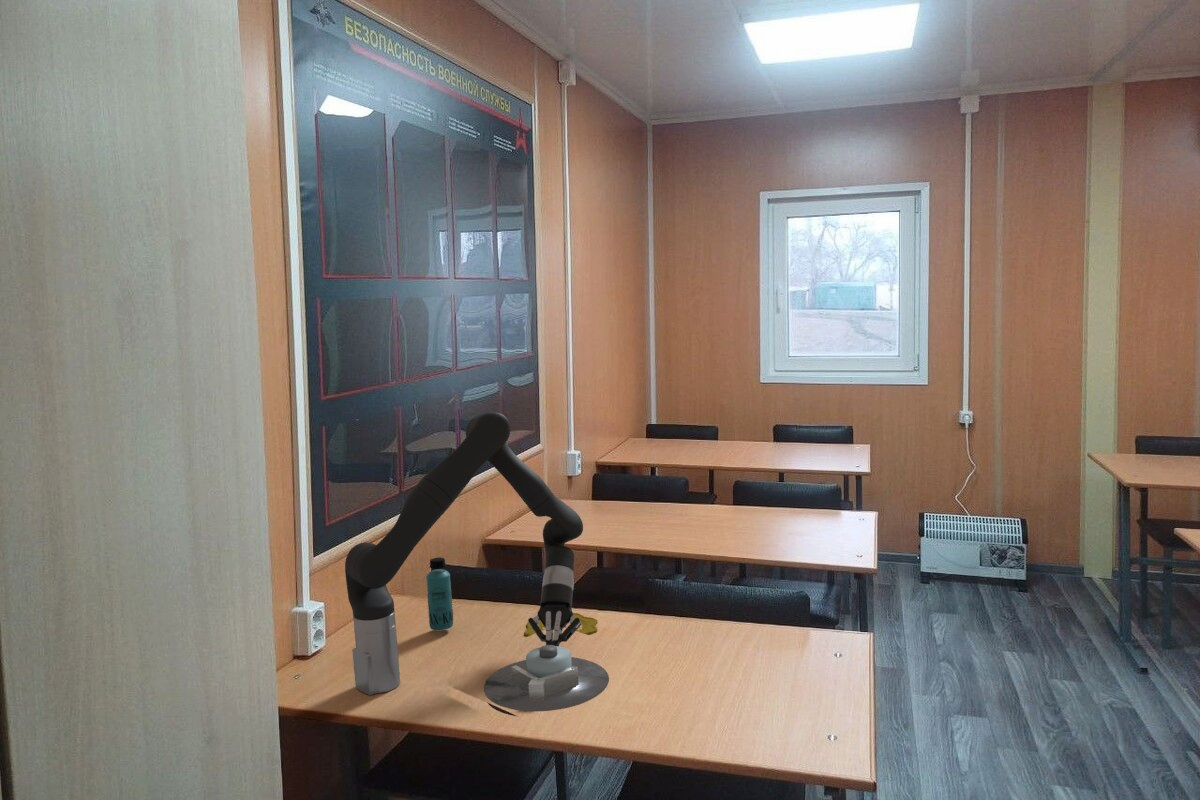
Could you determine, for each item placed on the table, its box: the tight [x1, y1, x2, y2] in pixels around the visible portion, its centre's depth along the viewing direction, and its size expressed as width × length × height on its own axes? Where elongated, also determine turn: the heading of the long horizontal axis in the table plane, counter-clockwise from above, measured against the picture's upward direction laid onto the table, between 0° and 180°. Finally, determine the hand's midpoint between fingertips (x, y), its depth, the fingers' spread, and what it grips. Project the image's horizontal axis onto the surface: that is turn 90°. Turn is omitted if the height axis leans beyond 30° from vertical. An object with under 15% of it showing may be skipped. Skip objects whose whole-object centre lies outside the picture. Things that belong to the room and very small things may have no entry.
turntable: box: [483, 656, 610, 717], centre depth 198 cm, size 28×28×6 cm
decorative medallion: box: [523, 612, 599, 638], centre depth 234 cm, size 20×20×2 cm
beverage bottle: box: [426, 557, 454, 631], centre depth 235 cm, size 6×7×20 cm
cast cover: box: [525, 644, 572, 678], centre depth 199 cm, size 10×10×8 cm
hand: (551, 658), depth 204 cm, fingers closed
